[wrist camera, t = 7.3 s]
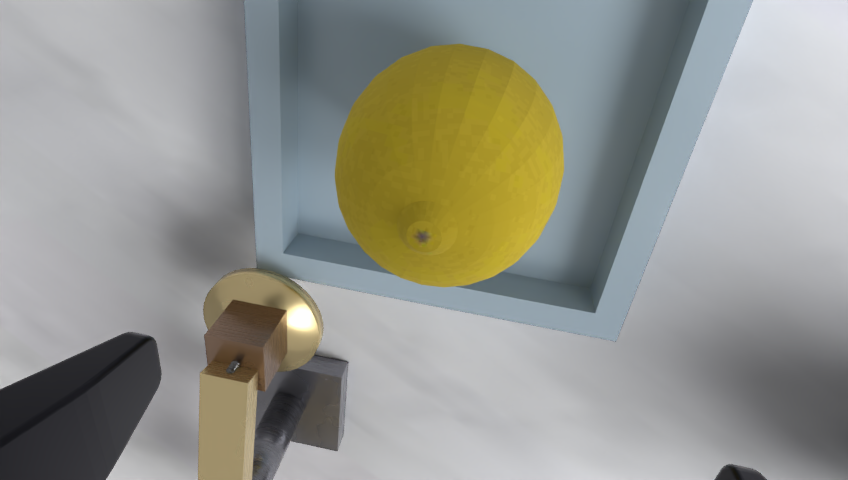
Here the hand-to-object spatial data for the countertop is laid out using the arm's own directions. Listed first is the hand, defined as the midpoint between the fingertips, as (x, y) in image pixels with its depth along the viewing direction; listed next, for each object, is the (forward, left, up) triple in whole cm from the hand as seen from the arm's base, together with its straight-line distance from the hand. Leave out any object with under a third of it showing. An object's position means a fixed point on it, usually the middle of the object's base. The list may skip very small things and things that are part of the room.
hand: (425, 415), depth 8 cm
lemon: (+1, -2, -11) cm, 11 cm away
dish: (+1, -2, -12) cm, 12 cm away
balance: (+7, +13, -12) cm, 19 cm away
